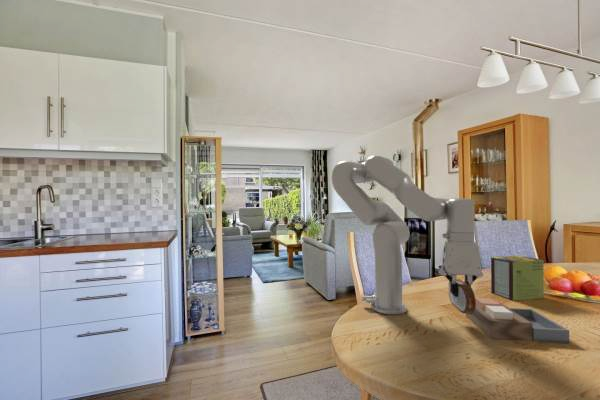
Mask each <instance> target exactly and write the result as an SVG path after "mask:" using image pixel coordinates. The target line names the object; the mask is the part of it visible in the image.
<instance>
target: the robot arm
mask: <svg viewBox="0 0 600 400" xmlns="http://www.w3.org/2000/svg"><path fill="white" fill-rule="evenodd" d="M331 172H332V173H331V184H332V187H333V189H334V191H335V192H336V193H337V195H338V196H339V197H340V198H341V200H342V201H343V202H344V203H345V204H346V206H347V207H348V209H350V210H351V212H352V213H353V214H354V216H356V217H357V218H358V221H360V222H361V223H362V224H364V225H366V226H375V228H374V230H373V233H372V243H373V249H374V287H375V288H374V292H373V295H372V294H370V295H362V296H361V297H362V299H361V301H363V302H365V303H366V304H370V308H371V309H372V310H373V311H375V312H378V313H380V314H384V315H390V316H391V315H392V316H393V315H397V316H398V315H401V314H405V313H406V312H407V310H408V308H407V305H406V304H405V303H403V256H402V251H401V245H403V244H405V243H407V242H408V241H409V239H410V235H411V234H410V228H409V226H408V224H407V223H406V222H405V221H404V220H403V219H402V218H401V217H400V216H399V215H398V214H397V213H396V211H394V209H392V208H391V206H390V205H388V204H387V203H386V202H384V201H381V200H374V199H372V198H371V197H370V196H369V195H368V194H367V193H366V192H365V191H364V190H363V189H362V187H360V186H359V185H358V184H365V183H372V182H376V183H377V184H378V185H380V186H382V187H383V188H384V189H385V190H387V191H388V192H389V193H391V194H392V195H393V196H394V197H395V199H396V200H397V201H399V203H400V204H402V205H403V206H404V207H405V208H406V209H407V210H409V211H410V212H411V213H413V214H414V215H416V216H417V217H418V218H420V219H421V220H423V221H425V222H435V221H441V220H442V221H443V220H447V221H446V223H447V224H446V225H447V226H446V227H447V229H446V230H447V231H446V233H442V238H443V239H446V240H445V241H444V243H443V249H442V250H443V251H442V259H441V260H442V261H441V267H440V268H439V270H438V275H440V276H442V277H444V278H446V279H447V280H448V282H449V281H450V291H451V293H452V294H453V295H454V296H455V297H458V284H456V279H457V276H463V277H464V282H465V283H466V284H467V285H469V286H470V287H471V288H472V285H473V283H474V282H475V281H476V280H477V279H479V278H481V277H482V278H483V276H484V274H483V271H482V263H481V262H482V261H481V254H480V249H479V244H478V242H475V201H474V200H473V198H464V197H463V198H450V199H449V198H443V197H442V198H441V197H433V196H431V195H429V194H428V193H427V192H425V191H424V190H423V189H421V188H419V186H417V185H416V184H415V183H414V182H413V180H412V178H411V176H410V175H409V174H408V173H406V172H405V171H403V170H402V169H400V168H399V167H397V166H396V165H395V164H394V162H393V160H391V159H390V158H387V157H384V156H381V155H371V156H369V157H368V158H367V159H366V160H365V162H355V161H350V160H344V161H343V160H342V161H340V162H338V163H336V164H335V166H334V167H333V168H332V171H331Z"/></svg>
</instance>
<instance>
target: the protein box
mask: <svg viewBox="0 0 600 400" xmlns="http://www.w3.org/2000/svg"><path fill="white" fill-rule="evenodd" d="M544 263H545V262H544V259H540V258H535V257H531V256H530V257H529V256H525V255H504V256H502V255H501V256H491V257H490V264H491V265H490V270H491V271H490V273H491V274H490V275H491V278H490V279H491V281H490V283H491V284H490V286H491V287H490V288H491V294H493V295H496V296H499V297H502V298H503V299H507V300H510V301H513V302H514V301H525V300H535V299H536V300H537V299H544V298H545V297H544V296H545V295H544V294H545V293H544V274H545V273H544V271H545V270H544Z"/></svg>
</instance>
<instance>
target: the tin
mask: <svg viewBox="0 0 600 400" xmlns="http://www.w3.org/2000/svg"><path fill="white" fill-rule="evenodd" d="M456 284H458V297H455V296H454V295H453V294H452V293H451V291H450V281H449V280H448V297H449V300H450V303H451V304H452V305H453V306H454V307H455V308H456V309H458V311H459V312H460V313H462V314H465V315H466V314H473V313H474V312H475V308H476V300H475V298H476V296H475V293H474V290H473V288H472V286H471V287H470V286H469V285H467V284H466V283H465V281H463V280H462V279H460V278H458V279H457V278H456Z"/></svg>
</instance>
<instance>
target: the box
mask: <svg viewBox="0 0 600 400" xmlns="http://www.w3.org/2000/svg"><path fill="white" fill-rule="evenodd" d="M508 308H509V309H511V310H513V311H514V312H516V313H517V314H519V315H520V316H522V317H523V318H525V319H527V320H528V321H530V322H531V323H532V342H542V343H543V342H544V343H559V344H560V343H563V344H567V343H568V344H569V343H570V330H569V329H568V328H566V327H564V326H562V325H560V324H558V323H557V322H555V321H554V320H552V319H550V318H548V317H546V316H545V315H543V314H541V313H539V312H538V311H536V310H534V309H532V308H518V307H508Z"/></svg>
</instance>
